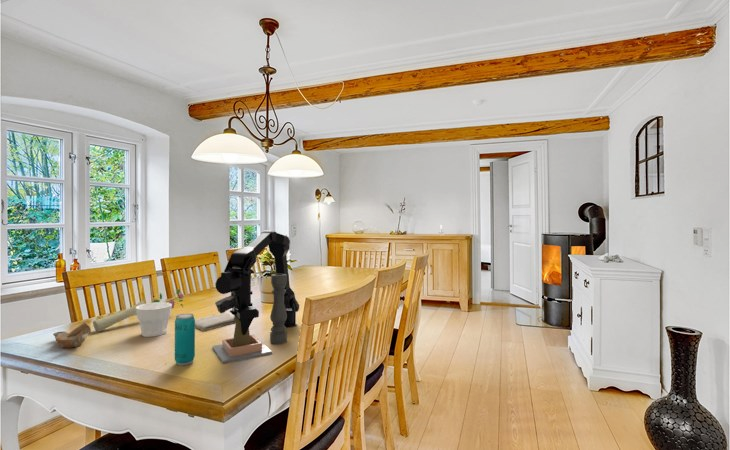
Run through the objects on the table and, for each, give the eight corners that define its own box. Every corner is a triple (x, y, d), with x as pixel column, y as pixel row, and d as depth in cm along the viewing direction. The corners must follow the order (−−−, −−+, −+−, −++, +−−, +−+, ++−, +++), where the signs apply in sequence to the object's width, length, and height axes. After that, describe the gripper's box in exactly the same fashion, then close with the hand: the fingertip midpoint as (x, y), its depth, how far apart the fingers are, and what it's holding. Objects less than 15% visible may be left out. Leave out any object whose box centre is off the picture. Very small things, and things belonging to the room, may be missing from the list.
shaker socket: (257, 340, 139) (257, 331, 139) (272, 353, 125) (272, 344, 125) (212, 348, 130) (212, 338, 130) (222, 363, 116) (222, 353, 116)
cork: (245, 348, 124) (245, 316, 124) (228, 347, 125) (229, 314, 125) (254, 342, 130) (254, 311, 130) (238, 341, 131) (238, 310, 131)
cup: (176, 333, 145) (176, 305, 145) (141, 341, 136) (141, 311, 136) (165, 326, 154) (165, 300, 154) (131, 333, 145) (131, 305, 145)
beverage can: (179, 359, 119) (179, 313, 119) (197, 359, 120) (197, 313, 120) (171, 366, 114) (171, 318, 113) (190, 366, 114) (190, 317, 114)
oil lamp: (69, 355, 122) (69, 325, 122) (42, 343, 133) (42, 315, 133) (99, 347, 130) (99, 319, 129) (71, 336, 140) (71, 310, 140)
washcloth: (241, 322, 164) (241, 315, 164) (204, 332, 149) (204, 325, 149) (224, 318, 170) (224, 311, 170) (187, 327, 155) (187, 320, 155)
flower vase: (98, 347, 150) (179, 311, 178) (110, 345, 143) (192, 307, 172) (87, 320, 149) (169, 288, 178) (98, 316, 142) (182, 283, 171)
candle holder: (290, 339, 140) (290, 274, 139) (281, 345, 134) (281, 276, 133) (275, 337, 142) (276, 273, 141) (266, 343, 136) (267, 275, 135)
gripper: (211, 286, 130) (211, 329, 131) (224, 295, 115) (224, 345, 115) (243, 283, 137) (243, 324, 137) (259, 292, 121) (259, 339, 121)
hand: (242, 333), depth 128 cm, fingers closed on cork, 4 cm apart
